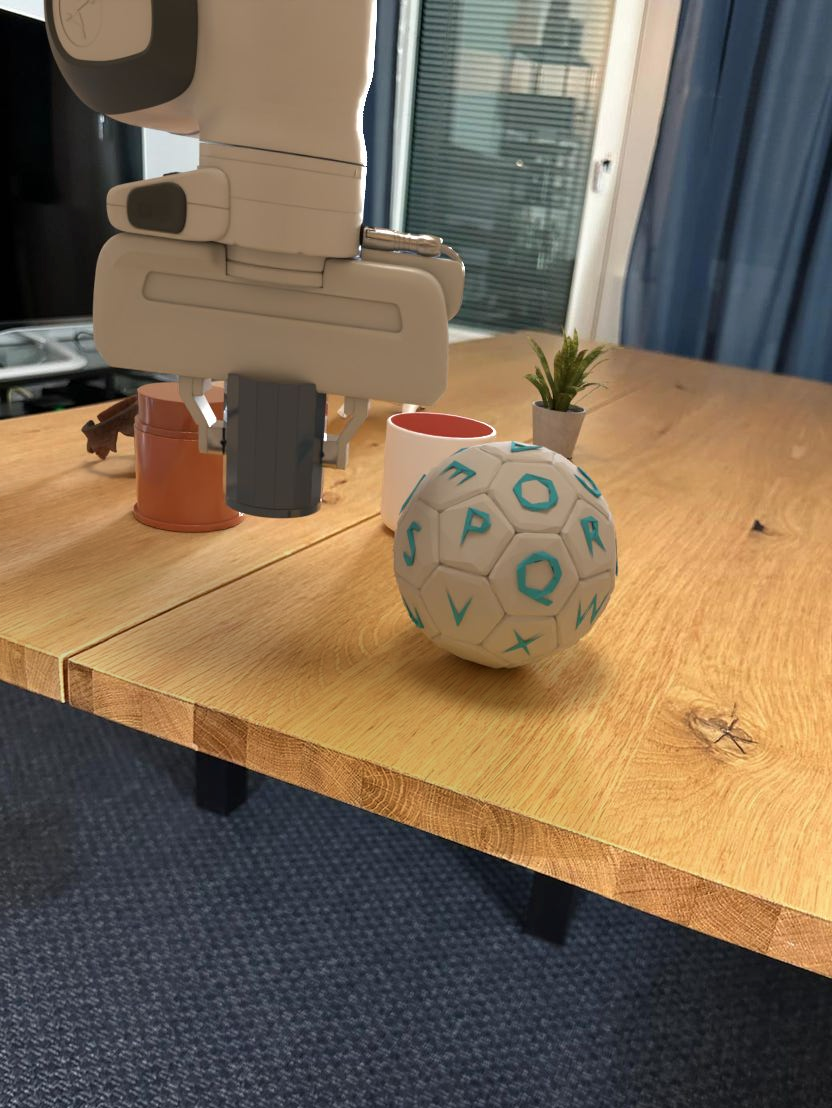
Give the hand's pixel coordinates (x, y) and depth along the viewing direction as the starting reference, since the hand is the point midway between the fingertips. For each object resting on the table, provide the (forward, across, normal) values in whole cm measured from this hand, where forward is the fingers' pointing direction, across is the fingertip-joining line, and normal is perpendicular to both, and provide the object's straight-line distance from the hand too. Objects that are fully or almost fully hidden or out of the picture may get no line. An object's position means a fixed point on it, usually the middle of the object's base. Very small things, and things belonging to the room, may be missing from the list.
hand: (273, 459), depth 57 cm
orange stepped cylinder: (+13, +12, -25) cm, 31 cm away
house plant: (+13, -26, -63) cm, 70 cm away
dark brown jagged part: (+13, +20, -39) cm, 46 cm away
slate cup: (+3, 0, 0) cm, 3 cm away
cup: (+13, -10, -28) cm, 33 cm away
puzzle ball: (+13, -15, -2) cm, 20 cm away
